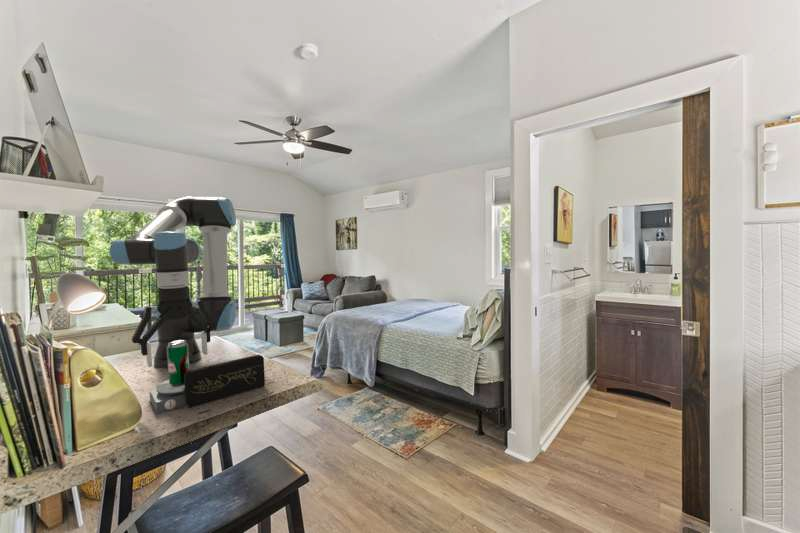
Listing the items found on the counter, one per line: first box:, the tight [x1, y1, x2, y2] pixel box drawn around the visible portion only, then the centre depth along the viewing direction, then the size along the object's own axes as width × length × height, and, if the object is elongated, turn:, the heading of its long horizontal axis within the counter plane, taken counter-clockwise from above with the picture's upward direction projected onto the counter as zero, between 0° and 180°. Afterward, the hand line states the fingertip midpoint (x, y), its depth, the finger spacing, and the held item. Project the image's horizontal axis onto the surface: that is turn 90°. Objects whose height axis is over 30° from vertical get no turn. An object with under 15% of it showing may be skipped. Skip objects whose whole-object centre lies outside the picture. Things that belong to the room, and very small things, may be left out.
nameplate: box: [184, 354, 266, 409], centre depth 100 cm, size 21×2×10 cm, turn 132°
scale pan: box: [155, 379, 185, 395], centre depth 98 cm, size 11×11×2 cm
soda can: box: [167, 340, 190, 386], centre depth 97 cm, size 5×5×12 cm
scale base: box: [149, 388, 187, 415], centre depth 98 cm, size 12×13×3 cm
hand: (178, 359), depth 98 cm, fingers open, 13 cm apart
